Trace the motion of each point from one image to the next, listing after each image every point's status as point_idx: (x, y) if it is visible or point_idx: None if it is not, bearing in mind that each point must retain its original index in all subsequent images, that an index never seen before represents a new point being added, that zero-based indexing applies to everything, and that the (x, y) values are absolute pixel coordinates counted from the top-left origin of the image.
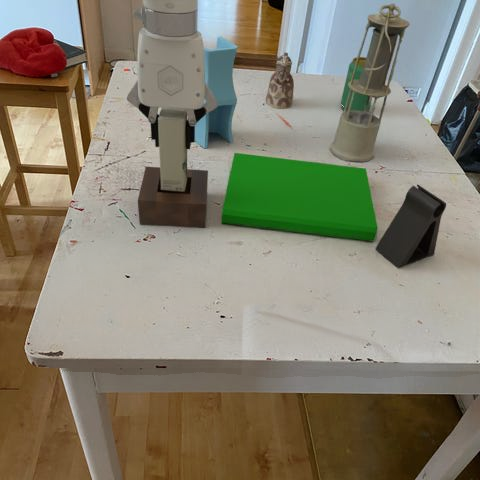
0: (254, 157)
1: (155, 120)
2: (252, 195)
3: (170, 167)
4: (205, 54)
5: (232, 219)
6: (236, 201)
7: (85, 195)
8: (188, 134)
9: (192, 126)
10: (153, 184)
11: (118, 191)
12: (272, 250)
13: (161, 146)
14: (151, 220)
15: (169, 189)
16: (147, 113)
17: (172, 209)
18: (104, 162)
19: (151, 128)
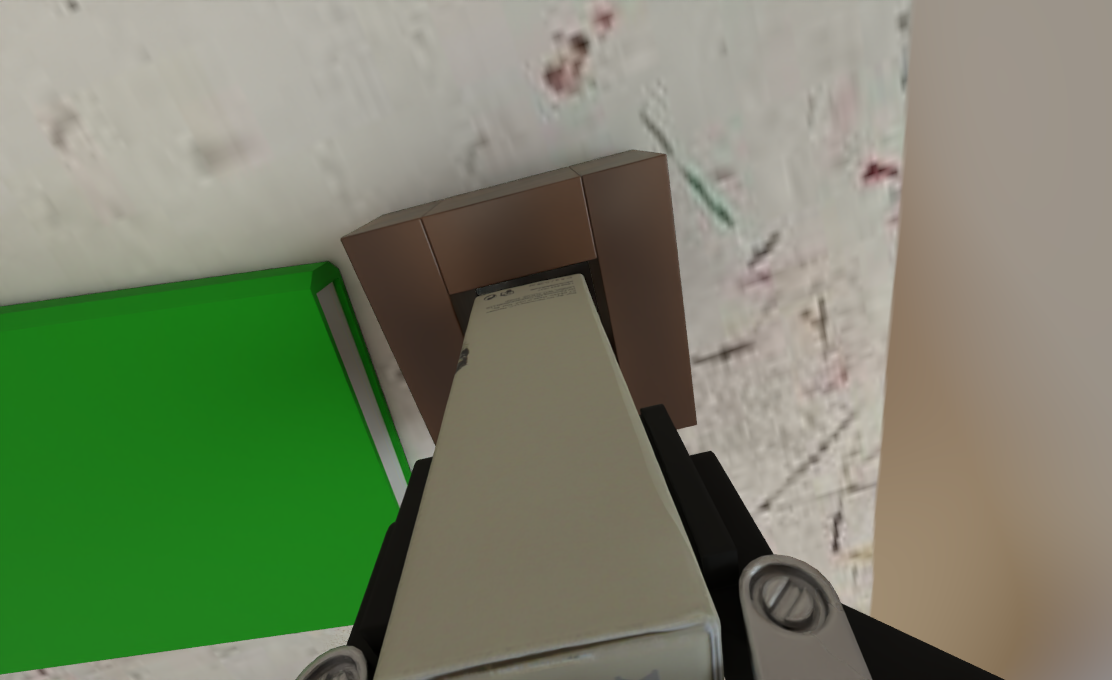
0: None
1: (741, 597)
2: (250, 418)
3: (539, 334)
4: None
5: (277, 271)
6: (285, 359)
7: (870, 267)
8: (398, 552)
9: (363, 646)
10: (630, 312)
11: (760, 330)
12: (55, 153)
13: (611, 396)
14: (589, 163)
15: (542, 282)
16: (875, 666)
17: (500, 191)
18: (834, 461)
19: (745, 517)
